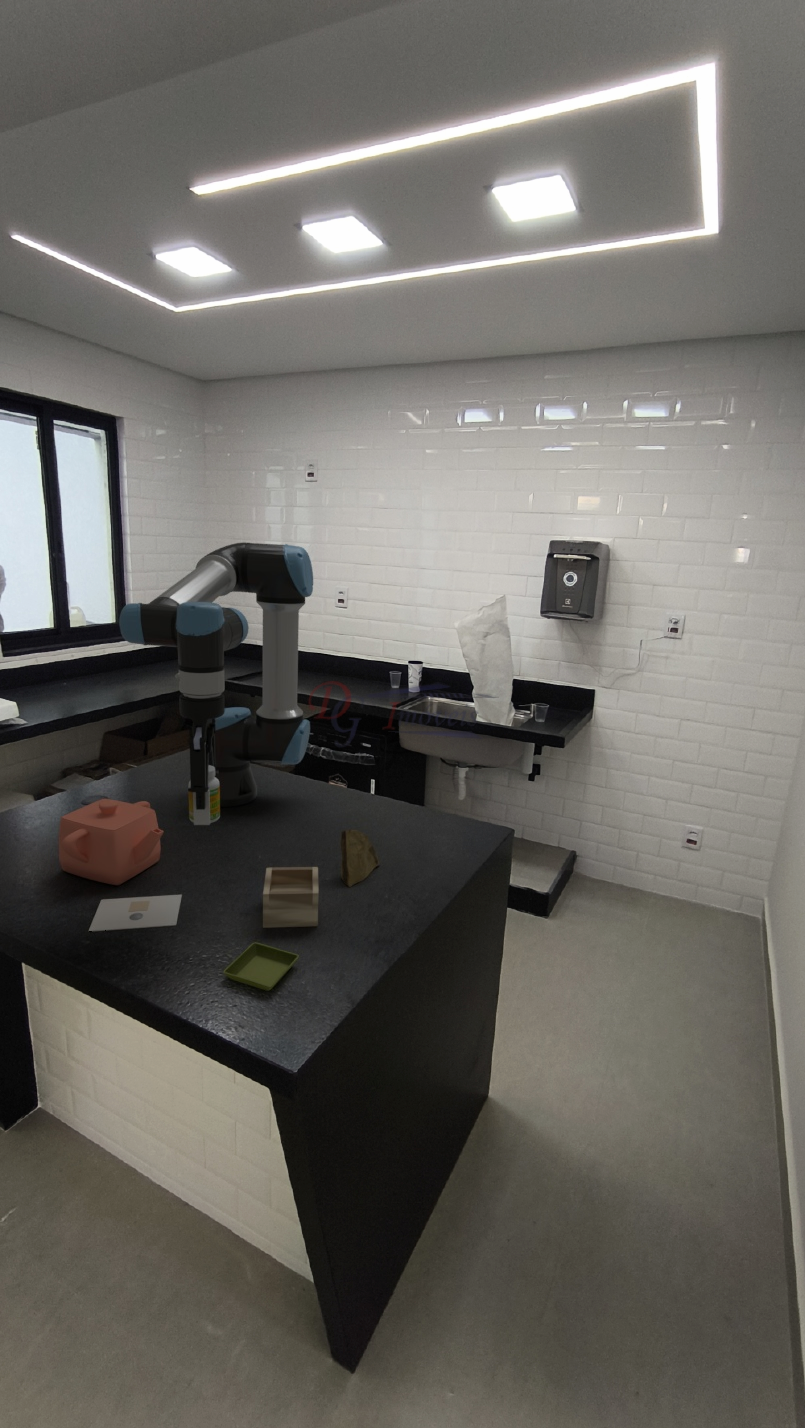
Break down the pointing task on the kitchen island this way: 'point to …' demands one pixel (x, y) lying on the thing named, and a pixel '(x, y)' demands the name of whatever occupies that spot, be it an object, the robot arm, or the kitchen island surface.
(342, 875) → the rock
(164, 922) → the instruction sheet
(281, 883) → the wooden crate
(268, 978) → the green tray
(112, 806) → the teapot
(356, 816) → the kitchen island surface
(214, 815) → the supplement bottle
